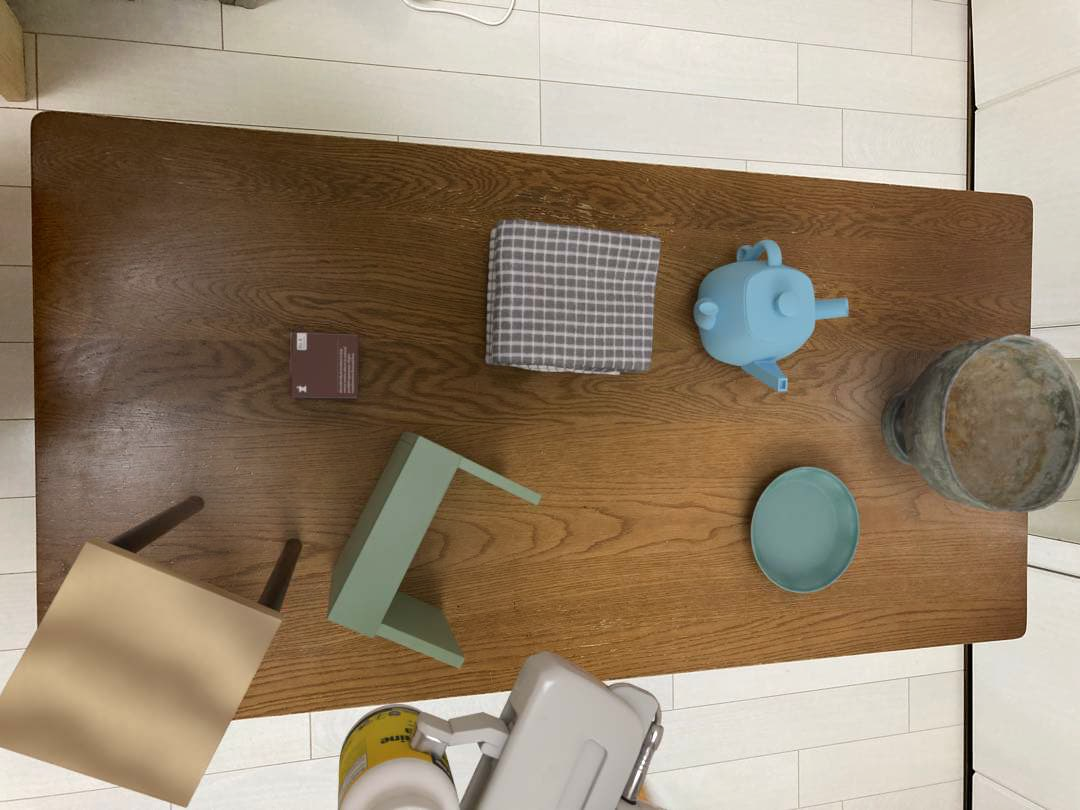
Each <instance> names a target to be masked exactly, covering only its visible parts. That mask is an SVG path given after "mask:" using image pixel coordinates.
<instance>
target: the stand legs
mask: <svg viewBox="0 0 1080 810" xmlns="http://www.w3.org/2000/svg"><path fill="white" fill-rule="evenodd" d="M204 507H205V501H204V499H203V498H202V497H201V496H199V495H191V496H189V497H188V498H186V499H184V500H182V501H181V502H179V503H176V504H175V505H173V506H171V507H169V508H167V509H166V510H163V511H161V512H160V513H158V514H156V515H154V516H152V517H151V518H150V517H149V519H147V520H145V521H143V522H141V523H139V524H137V525H135V526H133V527H131V528H130V529H128V530H126V531H123V533H120V534H119V535H116V536H115V537H113V538H110V539H109V540H107V541H106V542H107V543H110V544H112V545H115V546H117V547H120V548H122V549H125V550H127V551H130V552H132V553H134V554H137V553H139V552H141V551H142V550H144V549H145V548H147V547H148V546H150V545H151V544H153V543H154V542H155V541H157V540H159V539H160V538H161V537H163V536H164V535H165V536H166V534H168V533H170V531H172V530H174V529H175V528H177V527H178V526H180V525H181V524H183V523H185V522H186V521H187V520H188V519H190V518H192V517H193V516H195V515H196V514H198V513H199V512H201V511H202V510H203V509H204ZM302 543H303V542H302V541H301V540H300V539H299V538H296V537H291V538H290V539H288V540H287V541H286V542H285V544H284V546H283V549H282V550H281V553H280V555H279V557H278V559H277V561H276V563H275V565H274V567H273V569H272V571H271V573H270V575H269V578H268V580H267V582H266V584H265V585H264V588H263V589H262V592H261V594H260V597H259V599H258V601H257V603H258V604H261V605H263V606H266V607H268V608H271V609H273V610H276V611H278V612H281V610H282V608H283V604H284V601H285V598H286V595H287V593H288V589H289V586H290V583H291V581H292V577H293V575H294V572H295V570H296V566H297V564H298V561H299V558H300V555H301V552H302V548H303V544H302Z"/></svg>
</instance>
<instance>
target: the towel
mask: <svg viewBox="0 0 1080 810" xmlns="http://www.w3.org/2000/svg"><path fill="white" fill-rule="evenodd" d="M496 225H497V226H496V227H493V228H491V231H490V234H489V238H490V241H489V244H488V246H489V253H488V266H487V267H488V276H487V279H488V282H487V286H486V287H487V294H486V301H487V303H486V313H487V314H486V328H485V329H486V335H485V336H486V337H485V339H486V346H485V353H486V354H485V357H484V361H485V364H486V365H492V366H503V367H505V366H506V367H514V368H518V369H519V368H521V369H524V370H530V371H539V372H545V373H547V372H548V373H549V372H550V373H551V372H553V373H556V372H557V373H561V372H571V373H577V374H578V373H579V374H597V375H601V374H602V375H612V376H613V375H614V376H620V375H621V373H623V374H624V373H626V374H634V373H636V374H643V373H645V371H649V370H651V367H652V364H651V363H652V359H653V346H654V345H653V342H654V341H653V338H654V323H655V317H654V316H655V300H656V297H655V294H656V289H657V281H658V274H659V268H660V267H659V266H660V260H661V259H660V258H661V249H662V241H661V238H660V237H659V235H654V234H644V233H633V232H629V231H621V230H612V229H602V228H594V227H589V226H584V225H582V226H579V225H575V224H574V225H567V224H558V223H547V222H544V221H536V220H535V221H534V220H527V219H524V218H517V219H508V220H507V219H504V218H502V219H500V218H499V220H498V222H497V224H496Z"/></svg>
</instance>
